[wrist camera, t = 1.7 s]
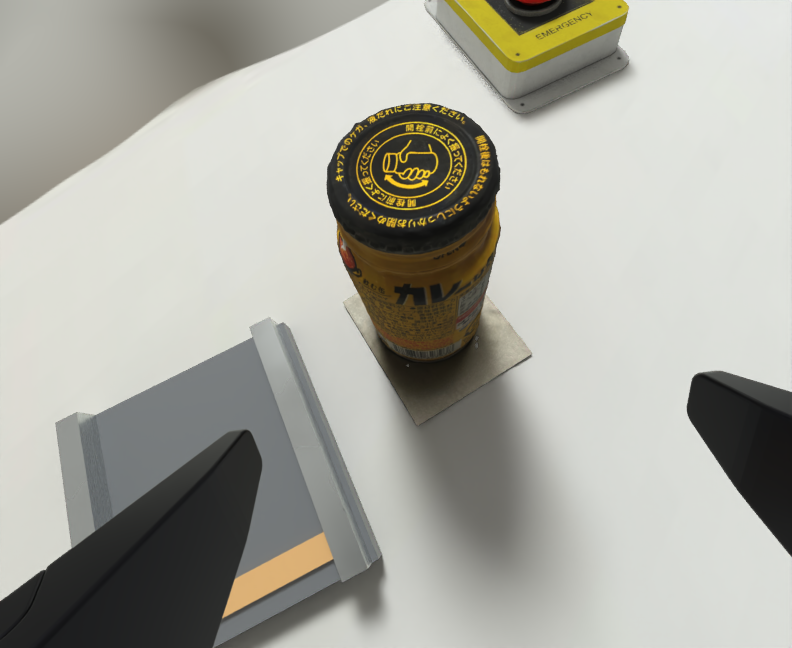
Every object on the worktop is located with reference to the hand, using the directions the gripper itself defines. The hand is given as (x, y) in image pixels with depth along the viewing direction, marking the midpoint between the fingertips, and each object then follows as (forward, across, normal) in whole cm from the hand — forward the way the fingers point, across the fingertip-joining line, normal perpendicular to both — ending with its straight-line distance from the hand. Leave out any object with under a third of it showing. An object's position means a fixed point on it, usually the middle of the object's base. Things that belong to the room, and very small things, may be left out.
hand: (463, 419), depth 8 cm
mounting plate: (+8, +12, +9) cm, 18 cm away
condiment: (+14, 0, +4) cm, 14 cm away
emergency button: (+30, -10, -11) cm, 34 cm away
